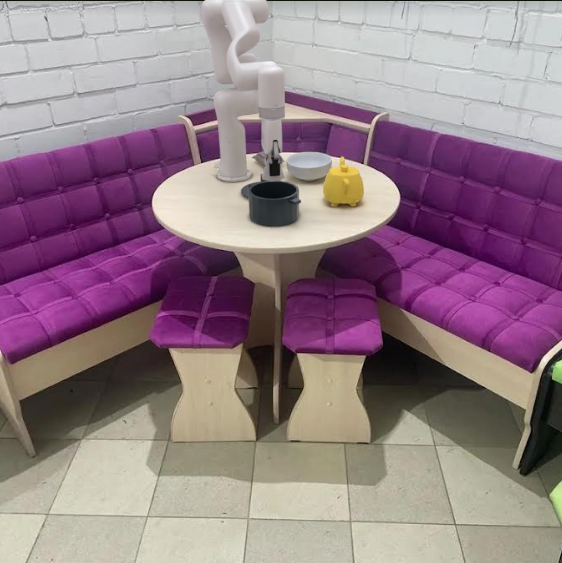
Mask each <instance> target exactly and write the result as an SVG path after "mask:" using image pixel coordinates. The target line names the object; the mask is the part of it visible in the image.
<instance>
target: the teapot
mask: <svg viewBox="0 0 562 563" xmlns="http://www.w3.org/2000/svg"><path fill="white" fill-rule="evenodd" d="M322 193H323V196H324V197H325V200H326V201H327V202H329V203H330V206H331V207H339V204H343V205H344V204H345V205H346V204H348V205H349V207H357V203H360V201H361V200H362V199H363V197H364V194H365V187H364V181H363V178H362V176H361V173H360V171H359V169H358V168H357V167H355V166H349V165H348V164H346V161H345V157H344V156H340V157H339V166H333V167H332V166H331V169H330V170H329V172H328V174H327V175H325V179H324V181H323V187H322Z"/></svg>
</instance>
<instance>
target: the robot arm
mask: <svg viewBox="0 0 562 563" xmlns="http://www.w3.org/2000/svg"><path fill="white" fill-rule="evenodd" d="M200 11H201V12H200V13H201V19H202V25H203V27H204V29H205V31H206V34H207V37H208V39H209V44H210V52H211V58H212V66H213V73H214V77H215V80H216V82H217V83H219V84H220V85H233V86H234V87H229V88H223V89H220V90H217V91H216V93H215V94H214V95H213V106H214V111H215V115H216V119H217V130H218V142H219V143H218V145H219V158H220V159H219V160H216V161H215V163H214V166H213V167H214V168H215V169H218V171H217V178H218V180H220V181H223V182H227V183H229V182H230V183H235V182H236V183H237V182H244V181H247V180H249V179H250V178H251V177H252V172H251V170H250V169H248V163H247V162H248V161H247V141H246V140H247V139H246V128H245V126H244V125H243V123H242V122H241V121H240V120H239V119H238V118H239V117H243V116H250V115H258V119H260V120H261V148H262V151H264V152H265V153H266V156H267V157H266V162H267V159H268V154H269V153H270V163H269V175H270V176H280V166H281V164H280V158H279V155H280V154H281V153H282V152H283V125H282V120H283V119H285V118H286V92H285V91H286V90H285V89H286V88H285V86H286V85H285V84H286V82H285V71H284V69H283V67H281V66H279V65H278V64H277V62H275V61H272V60H270V61H269V60H267V61H266V60H265V61H259V59H258V57H257V56H256V55H255V53H252V52H249V51H251V50H252V49H254V48H255V47H256V46H257V45H258V43H259V41H260V39H261V32H260V30H259V27H258V24H259V25H260V24H264V23H266V22H267V21H268V19H269V16H270V8H269V3H268V0H204V1H203V2H202V4H201V9H200ZM271 151H274V153H271ZM272 155H274V157H273V158H272Z"/></svg>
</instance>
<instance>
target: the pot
mask: <svg viewBox="0 0 562 563" xmlns="http://www.w3.org/2000/svg"><path fill="white" fill-rule="evenodd" d="M259 182H260V183H254V182H251V184H250V183H248V184H247V185H248V187H249V189H248V194H249V199H248V211H249V212H248V213H249V220H250V221H251V222H252V223H253V224H256V225H258V226H262V227H269V228H278V227H285V226H289V225H291V224H293V223H295V222H296V221H297V220H298V219H299V217H300V204H301V203H302V199H300V189H299V187H298V185H296V184H294V183H293V182H290V181H285V180H281V181H264V182H261V181H259Z"/></svg>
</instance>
